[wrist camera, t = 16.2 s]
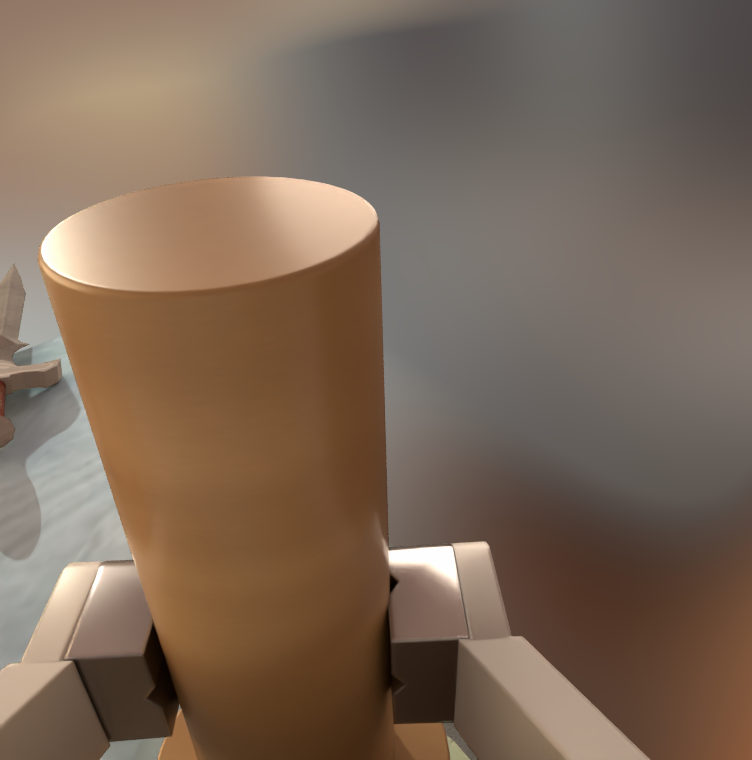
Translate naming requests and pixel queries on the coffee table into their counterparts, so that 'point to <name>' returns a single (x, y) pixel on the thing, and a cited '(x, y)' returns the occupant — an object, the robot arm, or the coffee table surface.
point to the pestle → (246, 453)
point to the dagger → (3, 377)
